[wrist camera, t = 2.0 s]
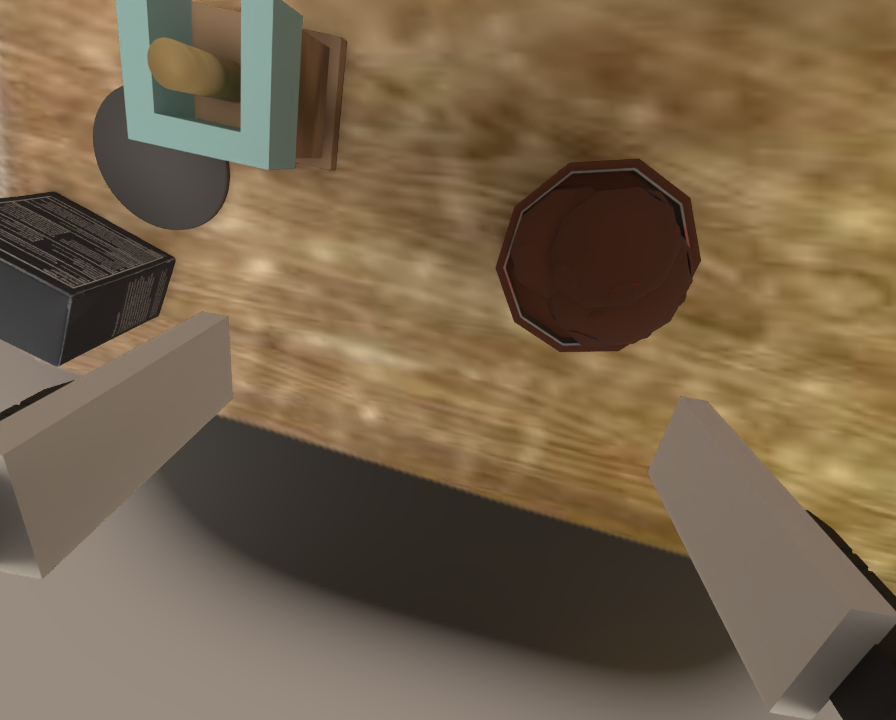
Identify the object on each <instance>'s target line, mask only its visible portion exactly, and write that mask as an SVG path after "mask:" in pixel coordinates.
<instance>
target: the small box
mask: <svg viewBox="0 0 896 720" xmlns="http://www.w3.org/2000/svg"><path fill="white" fill-rule="evenodd" d="M174 264H175V259H174V258H173V257H172V256H170V255H168V254H166V253H164V252H162V251H161V250H159V249H157V248H155V247H153V246H152V245H150V244H148V243H146V242H144V241H143V240H141V239H139V238H137V237H135V236H133V235H132V234H130V233H128V232H126V231H124V230H123V229H121V228H119V227H117V226H115V225H113V224H112V223H110V222H108V221H106V220H104V219H102V218H101V217H99V216H97V215H95V214H93V213H92V212H90V211H88V210H86V209H84V208H82V207H81V206H79V205H77V204H75V203H73V202H71V201H70V200H68V199H66V198H64V197H62V196H60V195H58V194H57V193H55V192H47V193H40V194H33V195H25V196H18V197H9V198H0V339H1V340H3V341H5V342H8V343H9V344H11V345H13V346H16V347H17V348H20V349H22V350H24V351H26V352H28V353H30V354H32V355H34V356H36V357H38V358H40V359H42V360H44V361H46V362H48V363H50V364H52V365H54V366H56V367H58V366H60V365H62V364H64V363H66V362H68V361H70V360H72V359H73V358H75V357H77V356H79V355H82V354H83V353H85V352H87V351H89V350H91V349H93V348H95V347H97V346H99V345H101V344H103V343H105V342H107V341H109V340H111V339H113V338H115V337H117V336H119V335H121V334H123V333H125V332H127V331H129V330H131V329H133V328H135V327H137V326H139V325H141V324H143V323H145V322H147V321H149V320H151V319H153V318H155V317H157V316H158V315H159V312H160V310H161V306H162V303H163V300H164V297H165V293H166V290H167V287H168V283H169V280H170V277H171V274H172V270H173V267H174Z"/></svg>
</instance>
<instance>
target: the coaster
mask: <svg viewBox="0 0 896 720" xmlns="http://www.w3.org/2000/svg"><path fill="white" fill-rule="evenodd" d="M93 145H94V151H95V156H96V160H97V163H98V166H99V169H100V171H101V174H102V176H103V178H104V180H105V181H106V183H107V185H108V186H109V188H110V190H111V191H112V192H113V194H114V195H115V196H116V198H117V199H118V200H119V201H120V202H121V203H122V204H123V205H124V206H125V207H126V208H127V209H128V210H129V211H130V212H132V213H133V214H134V215H136V216H137V217H139V218H140V219H142V220H144V221H145V222H147V223H149V224H152V225H154V226H157V227H160V228H164V229H170V230H184V229H190V228H193V227H197V226H200V225H202V224H204V223H206V222H207V221H209V220H210V219H212V218H213V217H214V216H215V215H216V214H217V213H218V211H219V210H220V208H221V207H222V205H223V203H224V201H225V199H226V196H227V193H228V187H229V178H230V173H229V163H228V161H226V160H221V159H217V158H212V157H208V156H203V155H199V154H194V153H190V152H185V151H181V150H176V149H172V148H167V147H163V146H158V145H154V144H149V143H145V142H140V141H136V140H131V139H128V130H127V119H126V108H125V97H124V87H123V86H121V87H119V88H118V89H116V90H114V91H113V92H112V93H110V94H109V95H108V96H107V97H106V99H105V100H104V101H103V102H102V104H101V106H100V108H99V110H98V112H97V115H96V118H95V122H94V127H93Z"/></svg>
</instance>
